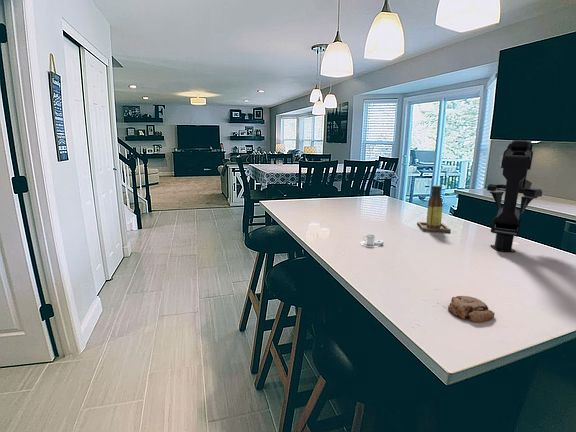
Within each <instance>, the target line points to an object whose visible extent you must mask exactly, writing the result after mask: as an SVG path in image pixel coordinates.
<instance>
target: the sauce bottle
mask: <svg viewBox="0 0 576 432" xmlns="http://www.w3.org/2000/svg"><path fill="white" fill-rule="evenodd" d="M441 190H442V185H437V184H435V185H433V184H432V186H431V196H430V197H429V199H428V204H427V214H426V215H427V216H426V222H427V227H428V228H440V227H441V223H442V216H443V200H442V197H441V195H442V194H441V193H442V192H441Z"/></svg>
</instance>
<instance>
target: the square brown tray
mask: <svg viewBox="0 0 576 432" xmlns="http://www.w3.org/2000/svg"><path fill="white" fill-rule="evenodd" d="M416 226H417V227H418V228H419V229H420V230H421V231H422V232H426V231H428V232H429V233H430V232H431V233H443V232H445V233H447V234H451V228H449V227H448V226H447V225H445V224H444V223H443V222H441V227H440V228H428V227H427V221H426V222H425V221H422V222H421V221H420V222H419V221H417V222H416Z"/></svg>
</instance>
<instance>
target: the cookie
mask: <svg viewBox="0 0 576 432" xmlns="http://www.w3.org/2000/svg"><path fill="white" fill-rule="evenodd" d="M450 301H451V302H450V303H449V305H448V307H447V310H448V311H450V312H451V313H452V314H454V315H455V317H456V316H457V317H458V318H460V319H462V320H463V321H469V322H473V323H478V324H479V323H485V322H489V321H490V320H492V319H494V318H495V312H494V311H493V310H491V309H489V306H488V305H487V304H486V303H485V302H483V301H482V300H481V299H479V298H477V297H473V296H469V295H457V296H452V297H451V300H450Z"/></svg>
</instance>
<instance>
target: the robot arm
mask: <svg viewBox="0 0 576 432" xmlns="http://www.w3.org/2000/svg"><path fill="white" fill-rule="evenodd" d="M533 145H534V144H533V143H532V141H531V140H517V139H516V140H512V141H511V142H510V143H508V145H507V148H506V149H505V150H504V151H503V153H502V158H501V159H502V160H501V165H500V168H501V169H502V176H503V177H504V178H505V180H506V182H505V184H504V183H503V184H502V183H489V184H488V185H487V187H486V191H488V192H489V194H491V196H492V197H493V200H494V203H495V205H496V208H497V209H498V211H497V215H495V217H494V218H493V219H492V222H491V227H490V233H492V234H495V240H494V244H490V247H491V248H493V250H495V251H497V252H508V253H510V252H511V253H516V250H515V249H513V243H514V237H517V238H518V237H519V232H520V227H521V223H522V222H521V221H522V218H520V214H523V213H525V210H526V209H527V208H528V206H529V204H530V203H531V202H532V200H534V199H538V198H539V197H540V198H541V197H543V190H542V189H541V188H536V187H535V188H532V187H531V186H532V184H533V182H531V181H529V180H527V176H528V171H531V167H532V163H533V156H534V152H533ZM519 194H522V196H521V199H520V207H519V208H517V203H518V197H519ZM503 195H504V199H502V198H503ZM502 201H503V206H501V205H502Z"/></svg>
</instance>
